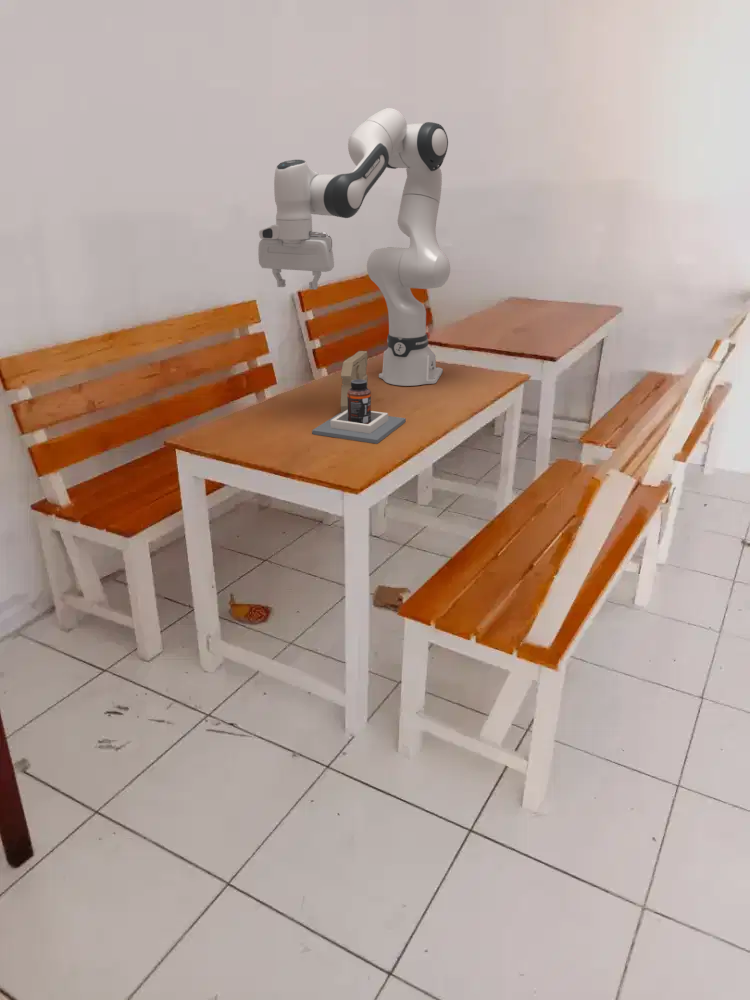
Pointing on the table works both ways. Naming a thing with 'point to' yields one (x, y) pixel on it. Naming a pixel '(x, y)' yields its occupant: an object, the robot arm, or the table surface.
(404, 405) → the table surface
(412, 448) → the table surface
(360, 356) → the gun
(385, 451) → the table surface
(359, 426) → the holder
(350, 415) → the supplement bottle
